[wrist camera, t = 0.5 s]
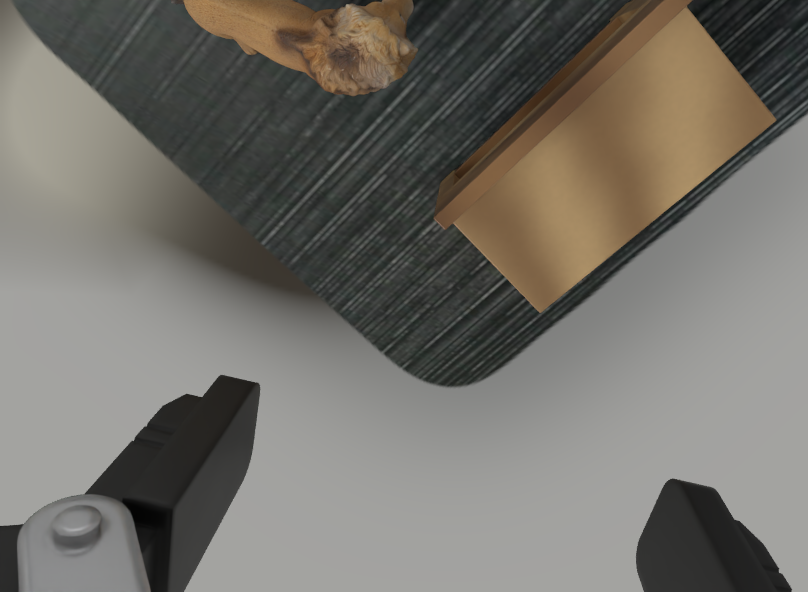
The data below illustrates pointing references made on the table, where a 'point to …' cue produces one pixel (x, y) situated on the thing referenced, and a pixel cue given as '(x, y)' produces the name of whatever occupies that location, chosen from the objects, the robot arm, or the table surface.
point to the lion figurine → (318, 38)
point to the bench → (602, 149)
